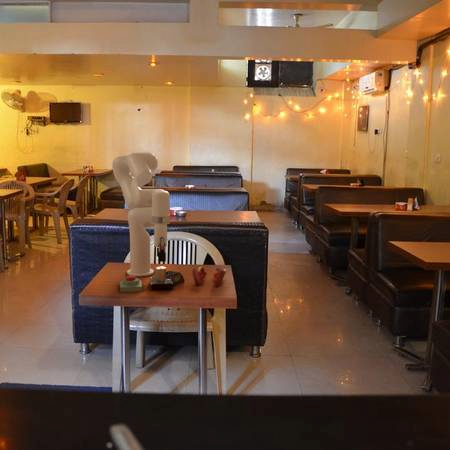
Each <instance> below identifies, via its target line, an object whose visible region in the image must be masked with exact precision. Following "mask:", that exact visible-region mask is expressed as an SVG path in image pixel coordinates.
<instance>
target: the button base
mask: <svg viewBox="0 0 450 450" xmlns="http://www.w3.org/2000/svg"><path fill="white" fill-rule="evenodd" d="M142 291H143V286H142V280H141V279H139V277H135V281H126V277H124V278H122V280H119V292H120V293H134V292H135V293H139V292H142Z"/></svg>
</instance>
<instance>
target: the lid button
mask: <svg viewBox="0 0 450 450" xmlns="http://www.w3.org/2000/svg"><path fill="white" fill-rule="evenodd" d="M125 278H126V281H135V278H136V276H133V275H126V276H125Z"/></svg>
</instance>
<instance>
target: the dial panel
mask: <svg viewBox="0 0 450 450" xmlns="http://www.w3.org/2000/svg"><path fill="white" fill-rule="evenodd" d="M149 286H150V287H149V288H150V291H151V292H153V291H172V290H173V281H172V278H171V279H166V280H165V281H156V276H149Z"/></svg>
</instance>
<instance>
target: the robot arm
mask: <svg viewBox="0 0 450 450" xmlns="http://www.w3.org/2000/svg"><path fill="white" fill-rule="evenodd" d="M111 166H112V172H113V175H114V178H115V180H116V182H117V183H118V185H119V187H120V188H121V192H122V195H123V198H124V201H125V205H126V207H127V208H129V209H130V210H129V211H128V213H127V223H128V229H129V254H130V255H129V266H130V267H129V269H128V270H127V271H126V274H127V276H129V275H133V276H135V277H137V278H139V277H148V276H149V277H150V276H152V275H153V274H154V273H155V270H154V269H153V268H151V235H150V233H149V232H148V231H147V230H146V229H147V228H153V244H154V245H153V246H154V247H155V248H156V257H157V261H158V262H159V263H160V262H161V263H164V262H166V261H167V252H166V247H167V244H168V225H170V223H171V213H170V212H171V210H170V209H171V206H170V204H171V202H170V201H171V199H170V198H171V195H170V192H169V191H167V190H164V189H161V188H141V187H143V186H146V185H148V184H149V183H150V182H151V181H152V180H153V171H155V170H157V168H158V166H159V161H158V158H157V155H156V154H155V153H153V152H132V153H129V154H128V155H119V156H116V157H115V158H114V159H113V160H112V164H111Z"/></svg>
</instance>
